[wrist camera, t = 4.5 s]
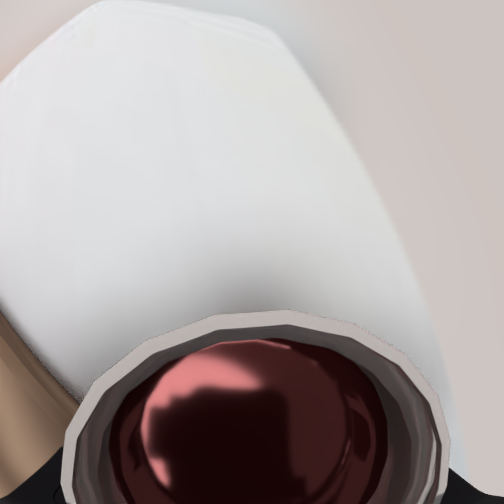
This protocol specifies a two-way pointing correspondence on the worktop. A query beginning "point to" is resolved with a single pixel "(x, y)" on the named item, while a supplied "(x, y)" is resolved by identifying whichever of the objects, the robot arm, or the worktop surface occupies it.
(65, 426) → the tray
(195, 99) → the worktop surface
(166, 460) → the wineglass
